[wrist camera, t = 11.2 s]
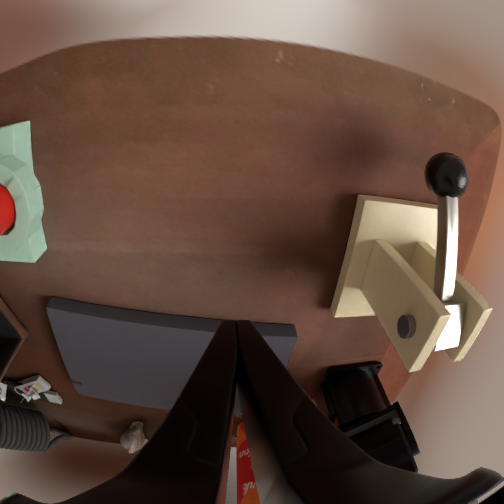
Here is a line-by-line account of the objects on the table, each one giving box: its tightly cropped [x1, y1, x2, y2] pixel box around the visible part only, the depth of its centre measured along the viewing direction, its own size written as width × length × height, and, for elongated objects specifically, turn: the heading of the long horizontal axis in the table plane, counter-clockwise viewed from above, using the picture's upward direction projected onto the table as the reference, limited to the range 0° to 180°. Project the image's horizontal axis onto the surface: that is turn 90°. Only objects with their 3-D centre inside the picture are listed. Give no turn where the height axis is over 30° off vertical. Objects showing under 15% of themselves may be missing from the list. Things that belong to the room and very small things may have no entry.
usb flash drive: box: [8, 375, 62, 404], centre depth 27 cm, size 9×5×1 cm, turn 85°
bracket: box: [330, 194, 492, 372], centre depth 18 cm, size 10×8×10 cm
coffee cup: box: [237, 421, 260, 504], centre depth 27 cm, size 8×8×15 cm
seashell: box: [120, 422, 148, 453], centre depth 31 cm, size 4×8×4 cm, turn 132°
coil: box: [0, 403, 74, 452], centre depth 25 cm, size 7×20×9 cm, turn 23°
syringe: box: [21, 382, 41, 402], centre depth 26 cm, size 10×2×2 cm
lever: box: [425, 152, 469, 351], centre depth 15 cm, size 12×3×3 cm, turn 175°
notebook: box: [46, 297, 298, 415], centre depth 26 cm, size 13×2×21 cm
